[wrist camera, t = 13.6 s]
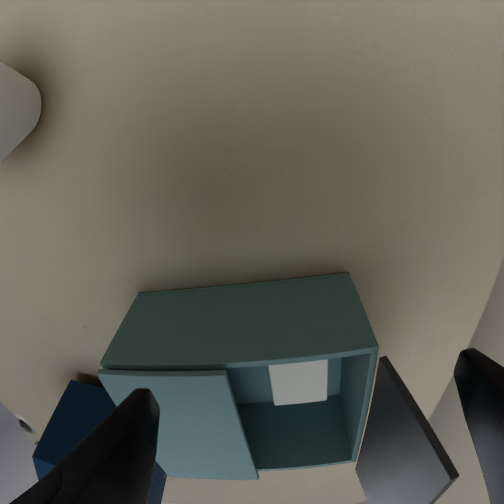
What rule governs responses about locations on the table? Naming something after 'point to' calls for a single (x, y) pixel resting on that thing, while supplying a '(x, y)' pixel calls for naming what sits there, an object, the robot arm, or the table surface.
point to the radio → (81, 431)
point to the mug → (16, 109)
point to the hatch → (400, 447)
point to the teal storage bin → (246, 374)
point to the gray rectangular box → (299, 382)
